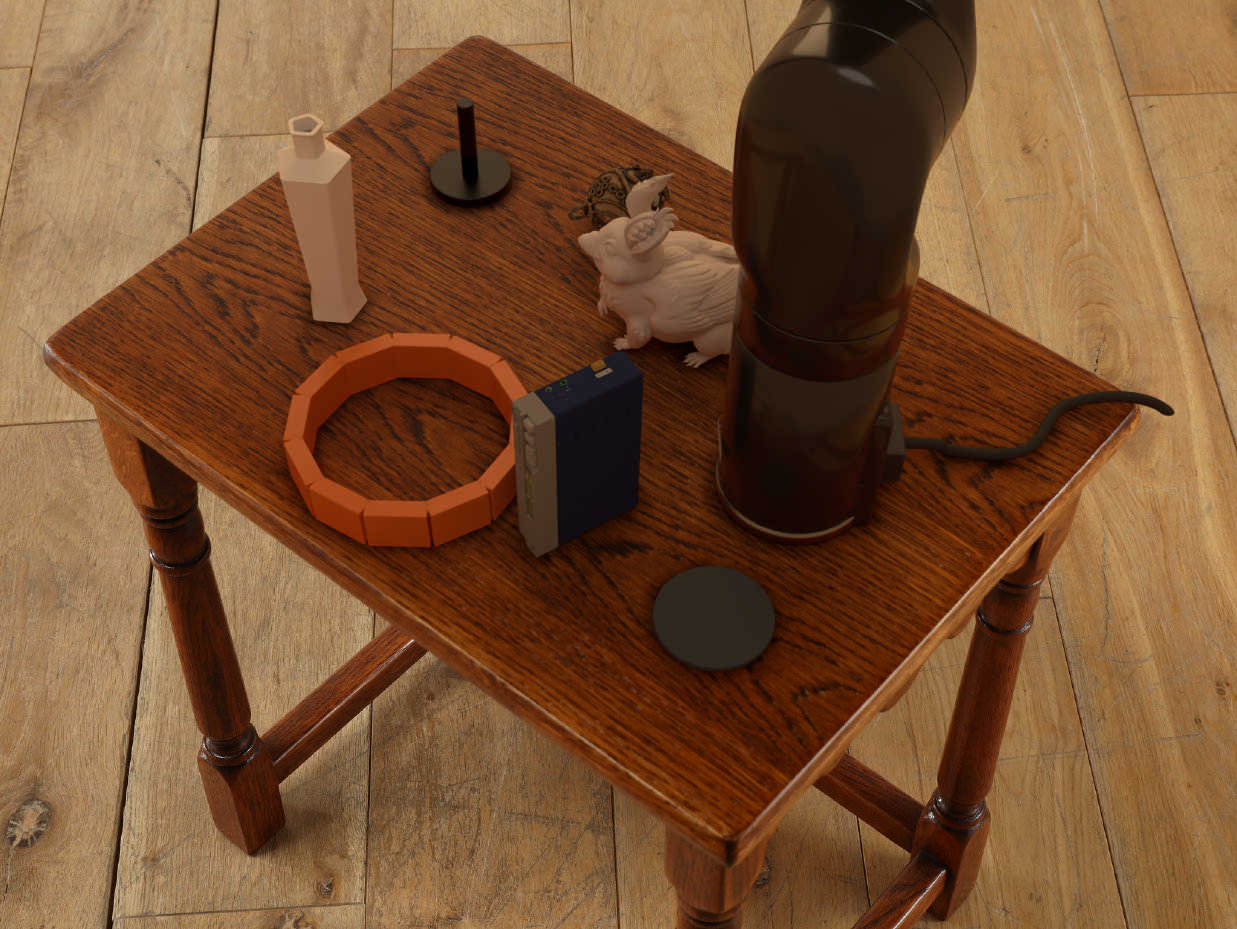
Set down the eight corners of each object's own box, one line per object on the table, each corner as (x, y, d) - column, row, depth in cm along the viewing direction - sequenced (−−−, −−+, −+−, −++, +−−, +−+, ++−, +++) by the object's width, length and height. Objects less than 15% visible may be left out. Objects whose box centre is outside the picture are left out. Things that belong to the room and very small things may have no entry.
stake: (514, 155, 111) (510, 77, 105) (509, 208, 107) (504, 130, 102) (434, 154, 111) (426, 75, 105) (426, 207, 107) (417, 128, 102)
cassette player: (618, 480, 91) (622, 344, 82) (639, 505, 90) (646, 370, 81) (515, 532, 88) (507, 398, 79) (536, 559, 87) (530, 426, 78)
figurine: (575, 295, 101) (574, 147, 92) (791, 284, 102) (813, 137, 93) (583, 381, 96) (583, 234, 87) (811, 370, 97) (836, 223, 87)
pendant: (682, 239, 105) (686, 184, 101) (582, 266, 103) (582, 211, 99) (654, 195, 108) (656, 140, 104) (556, 221, 106) (555, 166, 102)
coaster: (771, 570, 87) (772, 567, 87) (777, 673, 83) (778, 669, 82) (652, 568, 87) (652, 564, 87) (652, 670, 82) (652, 666, 82)
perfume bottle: (377, 282, 102) (351, 103, 90) (364, 327, 99) (335, 148, 88) (312, 277, 102) (277, 97, 91) (297, 322, 99) (259, 142, 88)
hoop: (538, 368, 97) (537, 335, 95) (524, 550, 88) (522, 519, 85) (312, 362, 97) (306, 329, 95) (274, 544, 88) (266, 513, 85)
